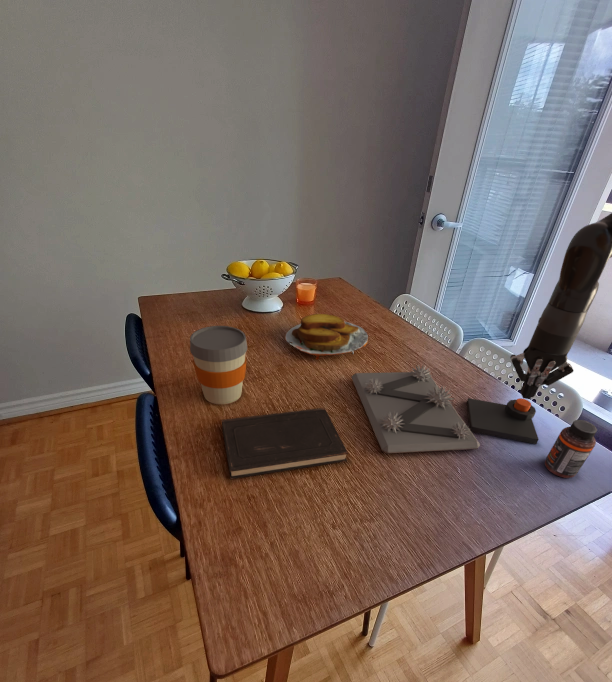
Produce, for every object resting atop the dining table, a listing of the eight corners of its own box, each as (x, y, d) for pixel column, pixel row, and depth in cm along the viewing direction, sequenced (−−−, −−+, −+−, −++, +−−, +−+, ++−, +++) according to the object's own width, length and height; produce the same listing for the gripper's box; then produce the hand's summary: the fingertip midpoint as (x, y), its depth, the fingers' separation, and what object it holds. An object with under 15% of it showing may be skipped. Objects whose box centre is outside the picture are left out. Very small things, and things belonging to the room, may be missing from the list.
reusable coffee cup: (255, 403, 94) (253, 345, 85) (201, 413, 89) (194, 354, 81) (241, 376, 103) (238, 322, 94) (192, 384, 99) (184, 328, 90)
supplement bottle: (539, 456, 84) (563, 413, 77) (570, 461, 83) (596, 418, 76) (547, 476, 79) (573, 432, 72) (580, 482, 78) (608, 438, 71)
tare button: (526, 405, 94) (529, 399, 93) (529, 413, 92) (532, 407, 91) (512, 403, 95) (515, 397, 94) (514, 410, 92) (517, 404, 91)
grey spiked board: (349, 379, 105) (353, 355, 100) (427, 377, 108) (433, 354, 103) (382, 457, 81) (388, 430, 77) (480, 452, 84) (491, 426, 80)
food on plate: (327, 372, 107) (329, 350, 103) (268, 339, 121) (268, 319, 117) (384, 345, 122) (387, 325, 118) (325, 318, 136) (327, 300, 132)
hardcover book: (346, 461, 79) (348, 452, 78) (230, 479, 74) (229, 470, 72) (323, 414, 92) (323, 406, 90) (221, 426, 86) (221, 418, 85)
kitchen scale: (527, 412, 97) (532, 402, 95) (539, 444, 87) (544, 434, 85) (466, 401, 99) (469, 391, 98) (470, 431, 89) (474, 421, 88)
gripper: (527, 329, 79) (497, 400, 90) (599, 340, 77) (560, 411, 87) (520, 315, 85) (493, 383, 96) (587, 325, 83) (552, 393, 93)
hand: (525, 396), depth 91 cm, fingers closed
